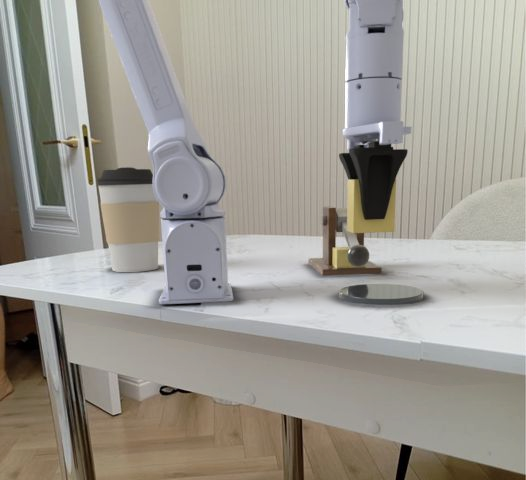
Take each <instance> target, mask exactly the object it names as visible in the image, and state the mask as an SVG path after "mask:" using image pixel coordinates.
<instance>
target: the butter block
mask: <svg viewBox="0 0 526 480" xmlns="http://www.w3.org/2000/svg"><path fill="white" fill-rule="evenodd" d="M349 250H350V249H349V246H336V247H333V256H332V265H333V266H334V267H336V268H363V267H366V264H365V265H364V266H361V267H355V266H353V265H351V264H350V263H349V261H348V258H347V254H348V251H349Z"/></svg>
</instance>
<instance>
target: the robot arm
mask: <svg viewBox="0 0 526 480" xmlns="http://www.w3.org/2000/svg"><path fill="white" fill-rule="evenodd" d="M403 1H404V0H344V3H345V7H346V9H347V10H348V30H347V32H346V33H345V66H344V67H345V68H344V69H345V71H344V73H345V76H344V78H345V80H344V81H345V82H344V128H343V129H342V138H344V139H346V151H347V152H340V153H339V154H338V158H339V161H340V163H341V165H342V167H343V169H344V171H345V174H346V177H347V181H348V180H354V179H358V180H359V186H360V195H361V205H362V211H363V216H364V219H365V220H371V219H385V216H386V213H387V209H388V205H389V201H390V197H391V193H392V189H393V185H394V182H395V179H396V180H397V176H398V174H399V171H400V169H401V167H402V165H403V163H404V161H405V159H406V158H407V155H408V150H409V149H406V148H403V149H402V148H400V149H394V146H392V144H394V145H396V144H397V145H398V144H403V142H404V136H405V135H410V134H412V126H404V121H403V120H401V117H402V114H401V113H402V90H403V88H402V87H403V68H404V67H403V66H404V65H403V64H404V63H403V62H404V38H405V37H404V35H405V31H404V27H403V23H404V14H405V13H404V9H403V3H404V2H403ZM97 2H98V3H99V7H100V9H101V12H102V14H103V17H104V20H105V22H106V25H107V28H108V31H109V33H110V36H111V38H112V41H113V43H114V46H115V48H116V49H115V50H116V52H117V54H118V56H119V59H120V62H121V65H122V67H123V70H124V73H125V75H126V78H127V81H128V84H129V86H130V88H131V91H132V94H133V96H134V99H135V102H136V104H137V107H138V109H139V113H140V115H141V118H142V120H143V123H144V125H145V128H146V131H147V133H148V146H147V153H148V156H149V158H150V161H151V165H152V174H153V180H152V184H153V191H154V194H155V196H156V198H157V200H158V202H159V205H160V206H161V207H162V209H161V211H159V218H160V226H161V227H160V228H161V241H162V256H163V269H164V284H165V286H164V288H163V290H162V292H161V294H160V297H159V298H158V304H159V305H177V304H178V305H181V304H202V303H204V304H205V303H206V304H207V303H225V302H227V303H228V302H233V301H234V294H233V289H232V284H231V283H229V274H228V251H227V227H226V226H227V225H226V210H223V208H221V206H220V204H219V203H220V202H221V201H222V199H223V198H224V195H225V193H226V188H227V180H226V179H227V178H226V175H225V172H224V169H223V168H222V166H221V165H220V164H219V163H218V162H217V161H216V160H215V159H214V158H213V157H212V156H211V154H210V152H209V150H208V149H207V145H206V143H205V141H204V139H203V137H202V135H201V134H200V132H199V130H198V129H197V127H196V125H195V123H194V120H193V118H192V115H191V112H190V110H189V107H188V105H187V102H186V98H185V95H184V93H183V91H182V88H181V85H180V82H179V79H178V77H177V74H176V71H175V68H174V66H173V63H172V60H171V56H170V54H169V51H168V49H167V45H166V43H165V40H164V38H163V36H162V31H161V29H160V27H159V24H158V21H157V19H156V16H155V12H154V10H153V7H152V5H151V2H150V0H97Z"/></svg>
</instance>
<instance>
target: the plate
mask: <svg viewBox="0 0 526 480" xmlns="http://www.w3.org/2000/svg"><path fill="white" fill-rule="evenodd" d="M338 298H339V299H340V300H342V301H345V302H349V303H354V304H359V305H372V306H373V305H374V306H377V305H378V306H392V305H408V304H412V303H416V302H419V301H422V300H423V299H424V290H423V289H421V288H418V287H416V286H410V285H405V284H396V283H363V284H355V285H349V286H345V287H342V288H340V289H339V290H338Z"/></svg>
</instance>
